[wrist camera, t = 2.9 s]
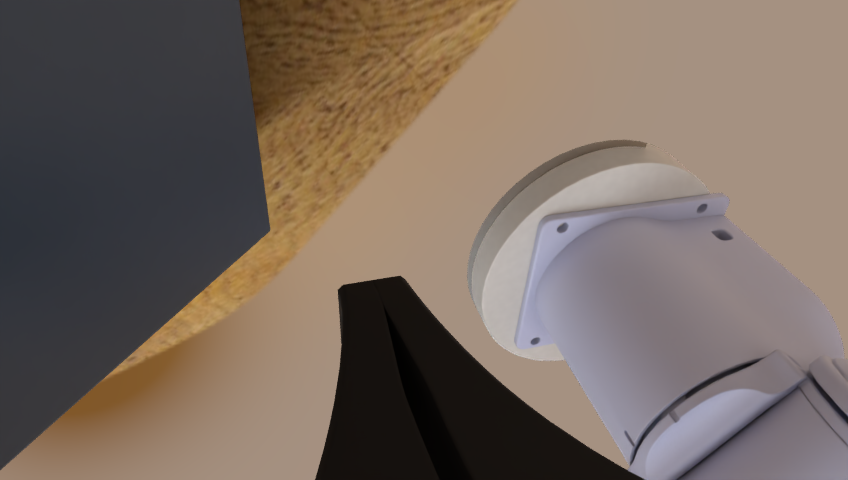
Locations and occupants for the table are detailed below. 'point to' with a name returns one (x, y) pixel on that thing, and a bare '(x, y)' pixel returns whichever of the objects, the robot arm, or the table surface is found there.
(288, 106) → the table surface
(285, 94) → the table surface
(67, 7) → the lid
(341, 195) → the table surface
